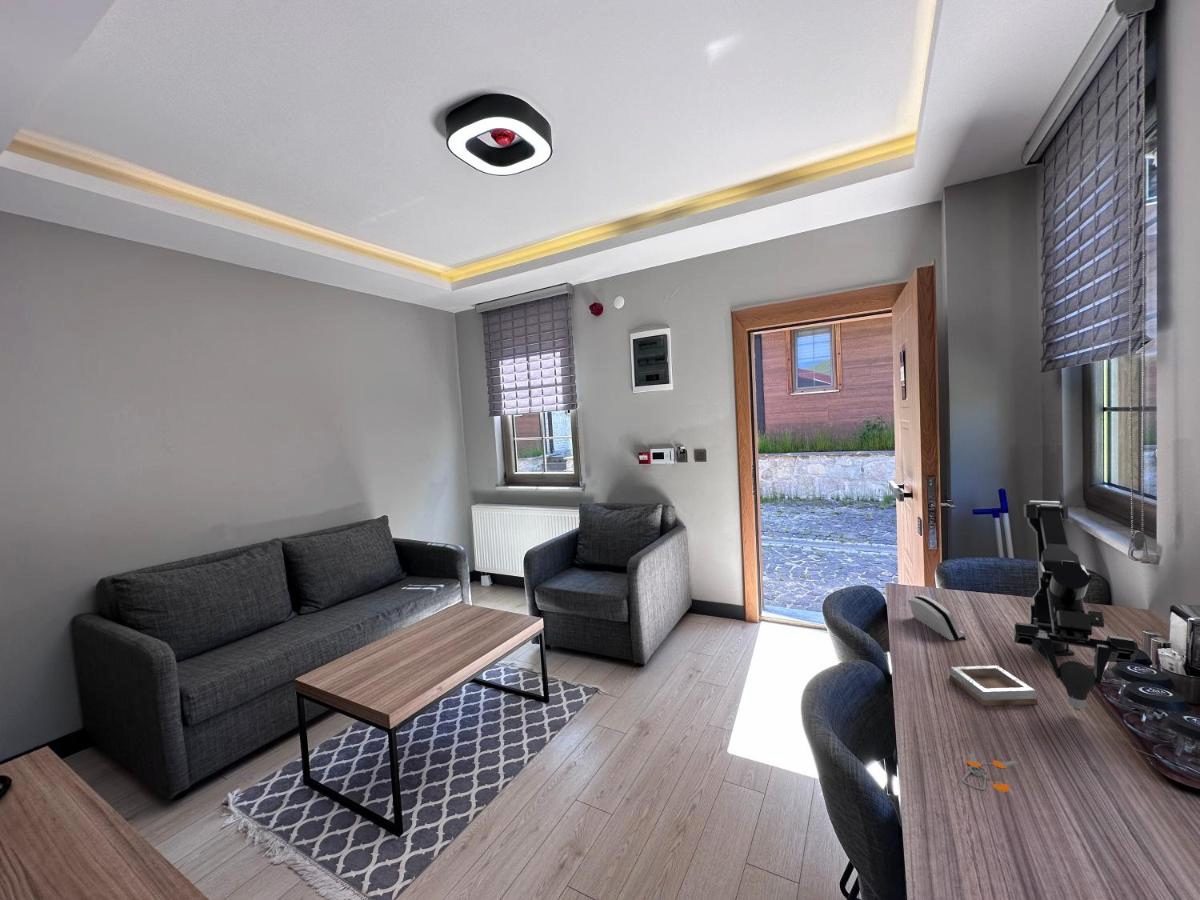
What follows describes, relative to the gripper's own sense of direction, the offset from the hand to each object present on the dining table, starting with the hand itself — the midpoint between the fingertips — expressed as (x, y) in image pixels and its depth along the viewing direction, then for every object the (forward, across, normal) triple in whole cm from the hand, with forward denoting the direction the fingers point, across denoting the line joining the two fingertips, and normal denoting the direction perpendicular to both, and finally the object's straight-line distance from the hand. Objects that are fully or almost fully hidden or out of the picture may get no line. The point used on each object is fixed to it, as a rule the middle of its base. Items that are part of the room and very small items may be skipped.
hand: (1077, 681), depth 99 cm
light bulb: (+4, 0, +6) cm, 7 cm away
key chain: (+25, -16, -13) cm, 32 cm away
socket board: (+3, -14, +9) cm, 16 cm away
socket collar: (+3, -14, +9) cm, 16 cm away
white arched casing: (-20, -25, +32) cm, 45 cm away
